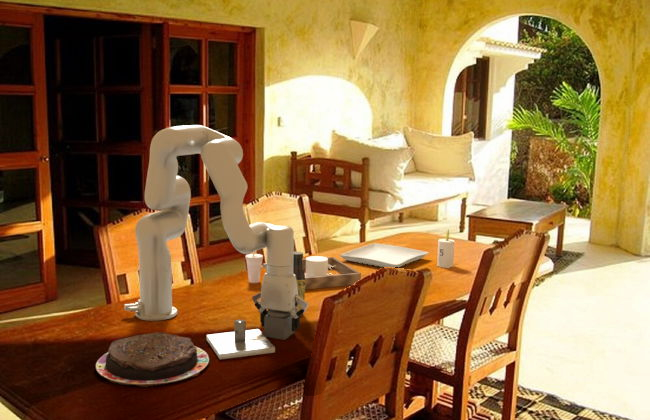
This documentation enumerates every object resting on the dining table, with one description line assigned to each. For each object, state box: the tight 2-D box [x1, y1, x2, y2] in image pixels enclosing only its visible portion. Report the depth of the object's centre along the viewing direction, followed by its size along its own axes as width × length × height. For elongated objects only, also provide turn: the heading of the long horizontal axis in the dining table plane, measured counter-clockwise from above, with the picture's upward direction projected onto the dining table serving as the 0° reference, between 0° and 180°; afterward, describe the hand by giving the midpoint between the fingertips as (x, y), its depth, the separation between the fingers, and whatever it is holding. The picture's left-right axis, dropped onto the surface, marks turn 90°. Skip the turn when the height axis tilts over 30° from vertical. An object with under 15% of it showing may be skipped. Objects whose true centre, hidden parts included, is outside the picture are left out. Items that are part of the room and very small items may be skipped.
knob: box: [263, 309, 295, 341], centre depth 201 cm, size 7×7×8 cm
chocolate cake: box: [95, 331, 210, 388], centre depth 178 cm, size 28×28×7 cm
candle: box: [436, 229, 455, 269], centre depth 282 cm, size 6×6×15 cm
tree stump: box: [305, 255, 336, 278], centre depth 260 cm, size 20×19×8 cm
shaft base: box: [206, 319, 276, 360], centre depth 192 cm, size 15×15×7 cm
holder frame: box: [302, 256, 362, 290], centre depth 262 cm, size 25×26×4 cm
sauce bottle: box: [293, 251, 306, 317], centre depth 217 cm, size 7×6×20 cm
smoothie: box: [244, 252, 264, 284], centre depth 254 cm, size 6×6×14 cm
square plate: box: [339, 242, 429, 268], centre depth 290 cm, size 27×27×4 cm
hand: (279, 327), depth 201 cm, fingers open, 9 cm apart
